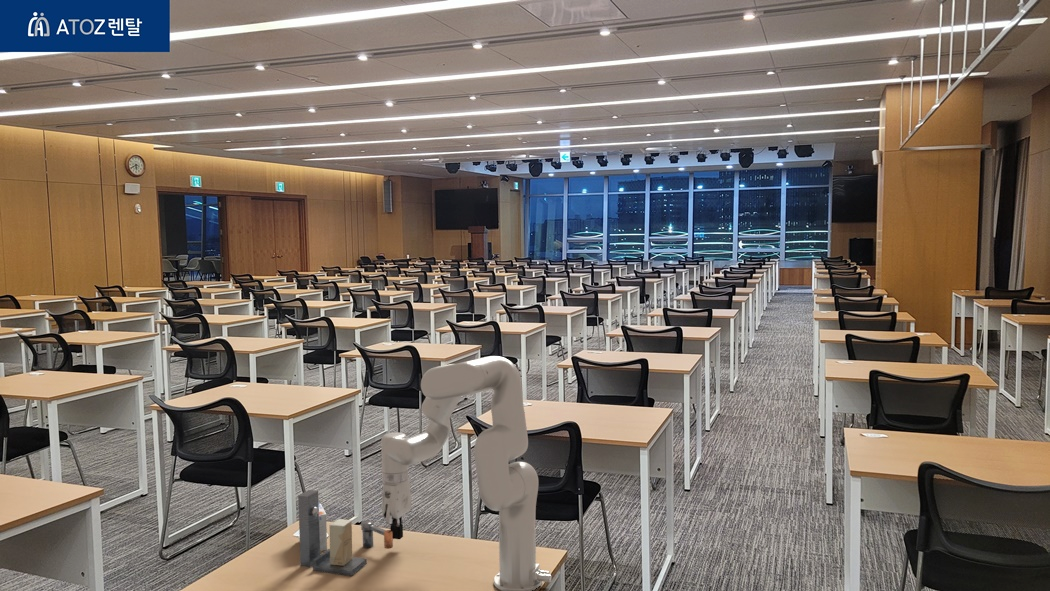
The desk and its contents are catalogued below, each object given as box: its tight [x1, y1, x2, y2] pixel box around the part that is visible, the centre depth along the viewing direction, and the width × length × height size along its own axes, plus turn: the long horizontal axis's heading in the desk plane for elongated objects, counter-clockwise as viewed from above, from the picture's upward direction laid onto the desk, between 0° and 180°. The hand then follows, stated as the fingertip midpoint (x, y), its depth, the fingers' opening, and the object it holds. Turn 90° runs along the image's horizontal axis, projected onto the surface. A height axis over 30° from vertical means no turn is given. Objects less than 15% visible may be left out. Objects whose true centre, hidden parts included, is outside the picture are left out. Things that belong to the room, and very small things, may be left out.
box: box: [329, 518, 353, 566], centre depth 202 cm, size 5×4×11 cm
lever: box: [360, 520, 394, 550], centre depth 213 cm, size 13×4×5 cm, turn 48°
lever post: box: [361, 530, 374, 549], centre depth 216 cm, size 3×3×5 cm
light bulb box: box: [319, 503, 328, 552], centre depth 217 cm, size 11×7×11 cm, turn 25°
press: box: [297, 489, 368, 577], centre depth 202 cm, size 17×8×20 cm, turn 72°
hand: (396, 537), depth 214 cm, fingers closed
